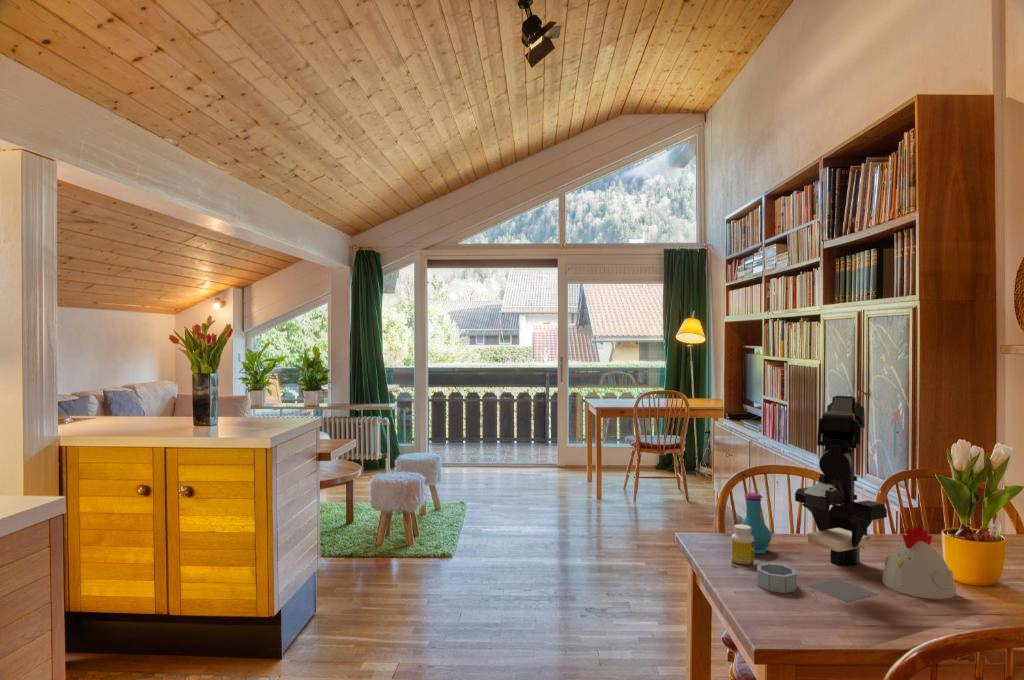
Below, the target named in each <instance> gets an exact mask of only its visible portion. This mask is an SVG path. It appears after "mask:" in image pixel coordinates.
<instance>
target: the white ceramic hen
mask: <svg viewBox="0 0 1024 680" xmlns="http://www.w3.org/2000/svg"><path fill="white" fill-rule="evenodd" d="M906 533H907V534H902V538H903V541H904V542H903V543H901V544H900V545H899V546H897V548H895V550H893V552H891V554H887V555H886V556H885V558H884V569H883V573H882V579H881V581H882V584H883V585H884V586H885V587H887V588H888V589H889V590H892V591H894V592H897V593H900V594H903V595H906V596H910V597H915V598H920V599H926V600H939V601H940V600H941V601H942V600H949V599H952V598H955V597H956V596H957V590H956V586H955V582H954V571H953V570H950V568H949V566H948V564H947V563H946V561H945V560H944V558H943V556H942V555H941V553H939V552H938V551H937V550H936V549H935V547H933V546H932V545H931V543H932V538H933V535H932V534H928V533H929V532H928V530H924V527H923V526H920V525H918V526H913V528H909V527H908V528H907V530H906Z"/></svg>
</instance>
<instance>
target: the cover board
mask: <svg viewBox="0 0 1024 680" xmlns="http://www.w3.org/2000/svg"><path fill="white" fill-rule="evenodd" d="M807 543H809V544H810V543H811V544H813V545H815V546H819V547H820V548H821V547H822V548H825V549H828V550H830V551H831V550H834V551H837V552H841V551H846V550H851V549H856V548H859V549H861V548H862V547H864V548H865V547H869V546H870V536H869V535H867V536H866V535H863V537H862V539H861V541H860V543H859V544H858V546H857V547H853V546H852V531H849V530H845V529H842V528H834V529H828V530H823V531H813V532H808V533H807Z"/></svg>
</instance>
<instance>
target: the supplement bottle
mask: <svg viewBox="0 0 1024 680" xmlns="http://www.w3.org/2000/svg"><path fill="white" fill-rule="evenodd" d="M733 530H734V533H732V534H731V538H730V539H731V540H730V541H731V542H730V543H731V544H730V545H731V546H730V551H731V552H730V555H731V556H730V557H731V558H730V563H731V565H732V566H733V567H734V568H737V567H738V569H740V568H745V567H750V566H754V565H755V554H754V538H753V536H751V535H750V534H751V527H750V526H748V525H742V524H741V523H740V524H734V528H733Z"/></svg>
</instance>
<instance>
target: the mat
mask: <svg viewBox="0 0 1024 680" xmlns="http://www.w3.org/2000/svg"><path fill="white" fill-rule="evenodd" d="M806 587H809V588H811V589H813V590H816V591H819V592H821V593H823V594H826V595H828V596H831V597H833V598H836V599H838V600H840V601H843V602H845V603H850V602H853V601H857V600H861V599H865V598H870V597H874V596H879V593H876V592H874V591H871V590H868V589H865V588H863V587H860V586H858V585H856V584H852V583H850V582H848V581H845V580H842V579H839V578H834V579H829V580H826V581H822V582H821V581H820V582H817V583H812V584H808V585H806Z"/></svg>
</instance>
